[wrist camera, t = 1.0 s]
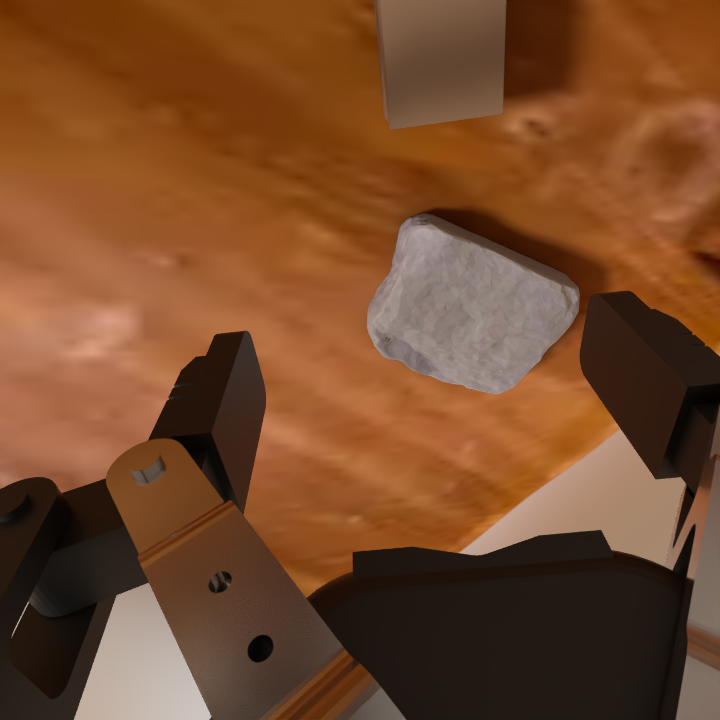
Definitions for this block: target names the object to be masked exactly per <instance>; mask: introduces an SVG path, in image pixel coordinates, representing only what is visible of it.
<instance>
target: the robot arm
mask: <svg viewBox="0 0 720 720" xmlns="http://www.w3.org/2000/svg"><path fill="white" fill-rule="evenodd" d="M580 364H581V369H582V372H583V374H584V376H585V378H586V379H587V381H588V382H589V384H590V385H591V387H592V388H593V389H594V391H595V392H596V394H597V395H598V397H599V398H600V400H601V401H602V402H603V404H604V405H605V407H606V408H607V410H608V411H609V413H610V414H611V415H612V417H613V418H614V420H615V421H616V423H617V424H618V426H619V427H620V428H621V430H622V431H623V433H624V434H625V435H626V437H627V439H628V440H629V441H630V443H631V444H632V446H633V447H634V449H635V450H636V452H637V453H638V454H639V456H640V457H641V459H642V460H643V462H644V463H645V465H646V466H647V467H648V469H649V470H650V472H651V473H652V475H653V476H654V478H655V479H665V478H676V477H681V478H682V479H683V480H684V481H685V483H686V485H685V487H684V490H683V492H682V495H681V498H680V503H679V507H678V511H677V516H676V520H675V524H674V528H673V533H672V537H671V541H670V546H669V550H668V554H667V558H666V562H665V566H662V565H660V564H657V563H655V562H652V561H650V560H647V559H644V558H641V557H638V556H635V555H632V554H627V553H623V552H619V551H613V550H611V548H610V546H609V545H608V543H607V541H606V539H605V537H604V535H603V533H602V531H601V530H596V531H586V532H585V531H584V532H573V533H562V534H551V535H539V536H537V537H534V538H531V539H528V540H525V541H522V542H519V543H516V544H513V545H511V546H508V547H505V548H502V549H499V550H496V551H494V552H491V553H488V554H484V555H479V556H475V555H467V554H460V553H453V552H446V551H439V550H432V549H425V548H418V547H405V548H393V549H382V550H371V551H360V552H353V572H350V573H347V574H345V575H342V576H340V577H338V578H336V579H334V580H332V581H330V582H328V583H327V584H325V585H323V586H322V587H320V588H319V589H317V590H316V591H315V592H313V593H312V594H311V595H310V596H308V597H307V598H306V597H305V596H304V595H303V593H302V592H301V591H300V589H299V588H298V587H297V585H296V584H295V583H294V582H293V580H292V579H291V578H290V576H289V575H288V574H287V572H286V571H285V570H284V568H283V567H282V566H281V564H280V563H279V562H278V560H277V559H276V558H275V557H274V555H273V554H272V553H271V551H270V550H269V549H268V547H267V546H266V545H265V543H264V542H263V541H262V539H261V538H260V537H259V535H258V534H257V533H256V532H255V530H254V529H253V528H252V526H251V525H250V524H249V522H248V521H247V520H246V518H245V517H244V516H243V514H244V509H245V504H246V499H247V494H248V490H249V485H250V480H251V475H252V470H253V466H254V461H255V456H256V451H257V446H258V442H259V437H260V432H261V427H262V422H263V418H264V413H265V408H266V392H265V385H264V381H263V377H262V374H261V370H260V366H259V363H258V359H257V355H256V352H255V348H254V345H253V341H252V338H251V335H250V333H249V332H248V331H240V332H230V333H221V334H216V335H215V336H214V338H213V340H212V343H211V345H210V347H209V350H208V352H207V355H206V356H199V357H195V358H194V359H193V360H192V361H191V362H190V363H189V364H188V365H187V366H186V367H185V368H183V369H182V370H181V372H180V374H179V376H178V379H177V381H176V383H175V385H174V386H175V388H173V389H172V391H171V393H170V395H169V400H167V402H166V404H165V406H164V408H163V410H162V412H161V414H160V416H159V418H158V420H157V422H156V425H155V427H154V429H153V431H152V433H151V435H150V437H149V439H148V441H146V442H143V443H140V444H138V445H136V446H134V447H132V448H130V449H129V450H127V451H126V452H124V453H123V454H122V455H120V456H119V457H118V458H117V459H116V460H115V461H114V462H113V464H112V465H111V467H110V468H109V470H108V472H107V475H106V478H105V479H103V480H100V481H97V482H94V483H91V484H88V485H85V486H82V487H79V488H76V489H73V490H70V491H67V492H64V493H61V492H60V490H59V489H58V487H57V486H56V484H55V483H54V482H53V481H52V480H50V479H48V478H44V477H33V478H27V479H23V480H20V481H17V482H14V483H12V484H10V485H8V486H6V487H4V488H2V489H0V720H74V717H75V715H76V711H77V709H78V706H79V703H80V700H81V697H82V694H83V691H84V688H85V685H86V682H87V679H88V676H89V674H90V671H91V668H92V665H93V662H94V659H95V656H96V653H97V650H98V647H99V645H100V642H101V639H102V636H103V633H104V630H105V627H106V623H107V621H108V618H109V615H110V612H111V610H112V607H113V604H114V601H115V598H116V595H118V594H121V593H123V592H126V591H128V590H131V589H133V588H136V587H139V586H141V585H144V584H146V583H149V584H150V586H151V588H152V590H153V592H154V594H155V597H156V599H157V601H158V603H159V605H160V607H161V609H162V611H163V614H164V616H165V618H166V620H167V622H168V624H169V626H170V628H171V631H172V633H173V635H174V637H175V639H176V641H177V644H178V646H179V648H180V650H181V652H182V654H183V656H184V658H185V661H186V663H187V665H188V667H189V669H190V671H191V673H192V676H193V678H194V680H195V682H196V684H197V686H198V688H199V691H200V693H201V695H202V697H203V699H204V701H205V703H206V705H207V707H208V710H209V712H210V714H211V716H212V717H211V718H210V720H720V356H719V355H717V354H716V353H715V352H714V351H713V350H712V349H711V348H709V347H708V346H705V343H704V342H702V341H701V340H700V339H699V338H698V337H697V336H696V335H692V332H691V331H690V330H689V329H688V328H686V327H685V326H684V325H683V324H682V323H681V322H680V321H678V320H677V319H675V318H673V317H671V316H669V315H667V314H664V313H662V312H660V311H658V310H656V309H650V308H649V307H648V306H647V305H646V304H645V303H643V302H642V301H641V300H640V299H639V298H638V297H637V296H636V295H635V294H634V293H632V292H631V291H619V292H610V293H601V294H594V295H593V296H592V297H591V298H590V301H589V304H588V309H587V314H586V320H585V325H584V331H583V337H582V342H581V348H580ZM28 601H29V604H28V606H27V608H26V610H25V612H24V614H23V616H22V618H21V620H20V622H19V624H18V626H17V628H16V630H15V632H14V634H13V636H12V633H13V631H14V629H15V627H16V625H17V623H18V621H19V619H20V616H21V615H22V613H23V611H24V608H25V606H26V605H27V602H28ZM11 637H12V638H11Z"/></svg>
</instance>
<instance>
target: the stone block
mask: <svg viewBox="0 0 720 720" xmlns="http://www.w3.org/2000/svg"><path fill="white" fill-rule="evenodd" d="M392 265H393V266H392V268H391V270H390V273H389V275H388V276H387V277H386V279H385V280H384V281H383V283H382V284H381V285H380V286H379V287H378V289H377V291H376V293H375V296H374V298H373V299H372V300H371V302H370V305H369V307H368V316H367V318H368V319H367V329H368V333H369V335H370V337H371V339H372V341H373V343H374V346H375V347H376V348H377V349H378V350H379V352H380V353H381V354H382V356H384V357H386V358H387V359H394V360H399V361H401V362H403V363H404V364H405V365H406V366H407V367H408V368H410V369H411V370H414V371H416V372H418V373H420V374H423V375H427V376H432V377H434V378H436V379H438V380H440V381H443V382H448V383H450V384H457V385H464V386H465V387H466V388H469V389H474V390H479V391H483V392H487V393H491V394H493V393H495V394H499V393H502V392H503V391H507V390H509V389H510V388H512V387H514V386H515V385H516V384H517V383H518V382H519V381H520V379H521V378H522V377H523V376H525V375H526V374H527V373H528V372H529V371H530V370H531V369H532V368H533V367H534V366H535V365H536V364H537V363H538V362H539V361H540V360H541V358H542V357H543V355H544V353H545V352H546V351H547V349H548V348H549V347H550V346H552V345H553V344H554V343H555V342H557V341H558V339H559V338H560V337H561V336H562V335H563V334H564V333H565V332H566V330H567V329H568V328H569V327H570V326H571V324H572V323H573V321H574V319H575V317H576V315H577V314H578V311H579V297H580V293H579V288H578V287H577V286H576V284H575V283H574V282H572V281H571V280H570V279H569V277H568V276H567V275H566V274H564V273H563V272H560V271H558V270H556V269H554V268H552V267H550V266H547V265H545V264H542V263H540V262H538V261H535V260H533V259H531V258H529V257H527V256H524V255H522V254H520V253H517V252H515V251H513V250H511V249H509V248H506V247H504V246H502V245H500V244H497V243H495V242H493V241H491V240H488V239H486V238H484V237H482V236H479V235H477V234H475V233H472V232H469V231H467V230H465V229H463V228H461V227H459V226H457V225H455V224H452V223H450V222H448V221H446V220H444V219H441V218H439V217H437V216H435V215H432V214H427V213H421V214H419V215H415V216H411V217H409V218H408V219H407V220H406V221H405V222H404V223H403V224H402V225H401V227H400V230H399V234H398V240H397V243H396V250H395V253H394V256H393V260H392Z"/></svg>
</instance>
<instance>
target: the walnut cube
mask: <svg viewBox="0 0 720 720" xmlns="http://www.w3.org/2000/svg"><path fill="white" fill-rule="evenodd" d="M374 7H375V19H376V30H377V41H378V52H379V63H380V75H381V86H382V97H383V108H384V116H385V118H386V120H387V122H388V124H389V127H390V129H391V130H392V129H399V128H406V127H413V126H420V125H427V124H434V123H441V122H448V121H455V120H462V119H469V118H476V117H483V116H491V115H498V114H503V89H504V57H505V26H506V0H374Z"/></svg>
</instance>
